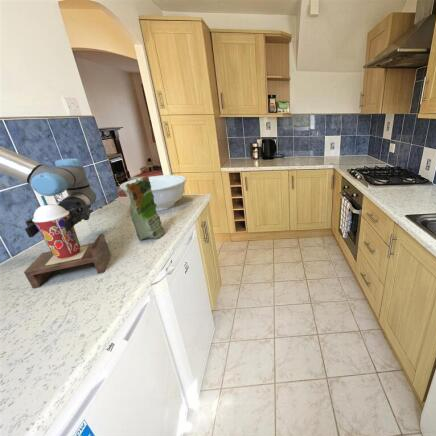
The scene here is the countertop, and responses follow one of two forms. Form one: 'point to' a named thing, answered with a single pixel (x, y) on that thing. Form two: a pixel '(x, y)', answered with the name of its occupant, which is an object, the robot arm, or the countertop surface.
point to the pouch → (144, 210)
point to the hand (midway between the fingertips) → (47, 229)
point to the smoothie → (56, 230)
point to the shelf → (69, 261)
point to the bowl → (163, 190)
